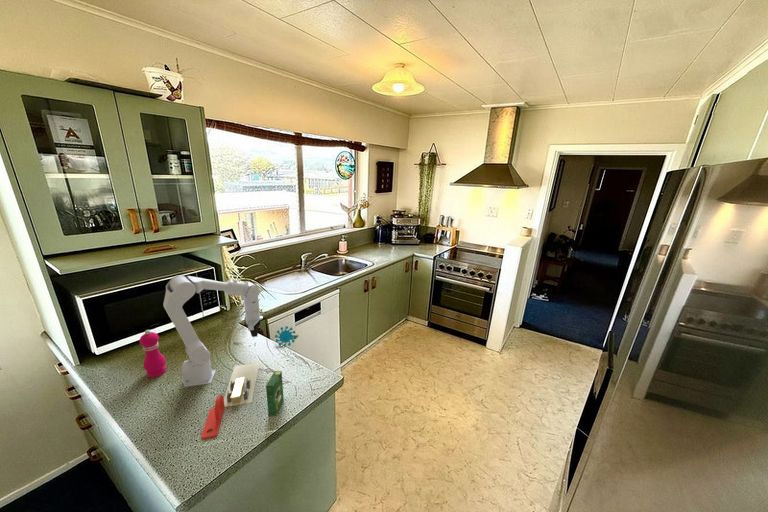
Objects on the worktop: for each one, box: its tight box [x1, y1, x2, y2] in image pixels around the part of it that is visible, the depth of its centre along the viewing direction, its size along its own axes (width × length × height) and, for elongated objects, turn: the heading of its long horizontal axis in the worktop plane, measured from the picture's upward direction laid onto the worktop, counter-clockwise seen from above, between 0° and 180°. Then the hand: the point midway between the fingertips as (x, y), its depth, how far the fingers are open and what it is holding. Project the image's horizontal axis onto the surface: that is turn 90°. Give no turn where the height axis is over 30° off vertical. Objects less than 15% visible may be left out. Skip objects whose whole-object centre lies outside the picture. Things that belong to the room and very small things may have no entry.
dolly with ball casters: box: [227, 378, 251, 402], centre depth 110 cm, size 7×8×3 cm
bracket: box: [200, 394, 226, 440], centre depth 97 cm, size 12×4×8 cm, turn 16°
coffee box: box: [265, 370, 285, 417], centre depth 104 cm, size 8×3×13 cm, turn 178°
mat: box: [223, 362, 260, 408], centre depth 116 cm, size 10×23×1 cm, turn 15°
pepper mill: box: [139, 329, 167, 378], centre depth 117 cm, size 7×7×20 cm
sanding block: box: [231, 377, 245, 404], centre depth 110 cm, size 3×10×3 cm, turn 16°
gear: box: [274, 325, 299, 347], centre depth 144 cm, size 11×6×10 cm
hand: (254, 335), depth 131 cm, fingers closed
